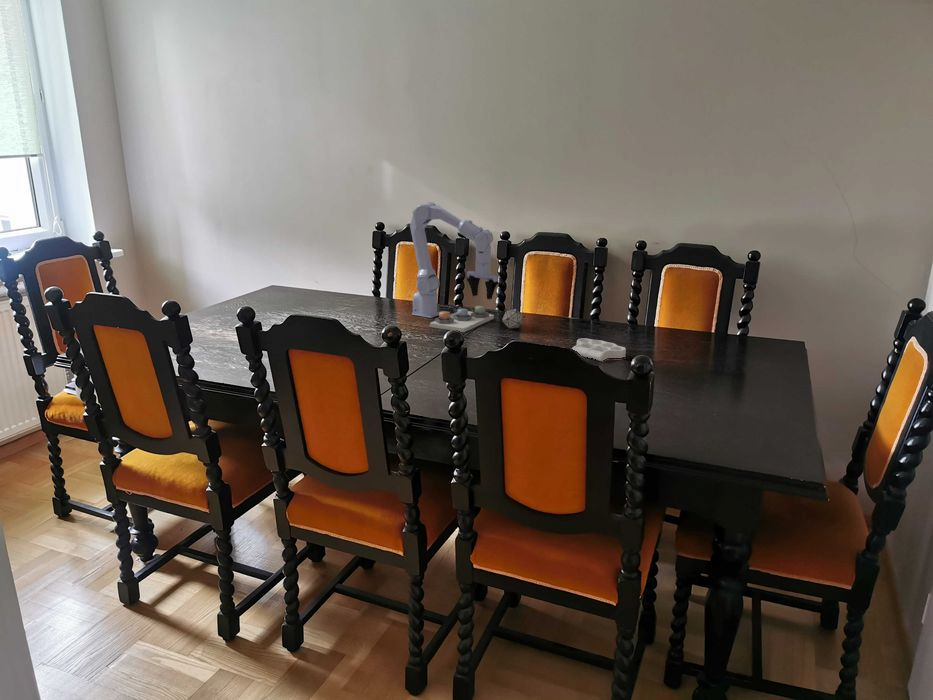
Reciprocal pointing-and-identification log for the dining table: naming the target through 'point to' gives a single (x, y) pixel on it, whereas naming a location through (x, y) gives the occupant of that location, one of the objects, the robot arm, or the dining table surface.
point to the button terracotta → (444, 315)
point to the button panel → (462, 321)
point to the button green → (480, 309)
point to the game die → (512, 318)
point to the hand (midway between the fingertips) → (482, 297)
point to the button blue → (462, 312)
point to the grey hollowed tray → (599, 349)
